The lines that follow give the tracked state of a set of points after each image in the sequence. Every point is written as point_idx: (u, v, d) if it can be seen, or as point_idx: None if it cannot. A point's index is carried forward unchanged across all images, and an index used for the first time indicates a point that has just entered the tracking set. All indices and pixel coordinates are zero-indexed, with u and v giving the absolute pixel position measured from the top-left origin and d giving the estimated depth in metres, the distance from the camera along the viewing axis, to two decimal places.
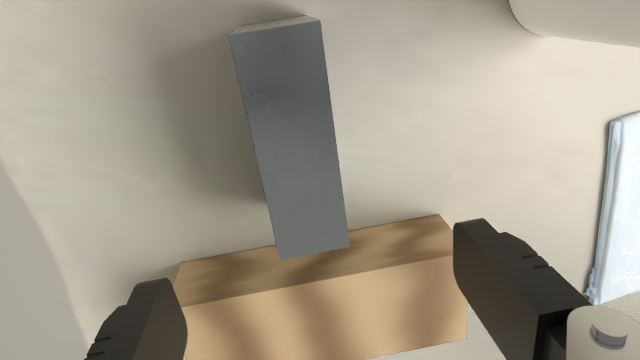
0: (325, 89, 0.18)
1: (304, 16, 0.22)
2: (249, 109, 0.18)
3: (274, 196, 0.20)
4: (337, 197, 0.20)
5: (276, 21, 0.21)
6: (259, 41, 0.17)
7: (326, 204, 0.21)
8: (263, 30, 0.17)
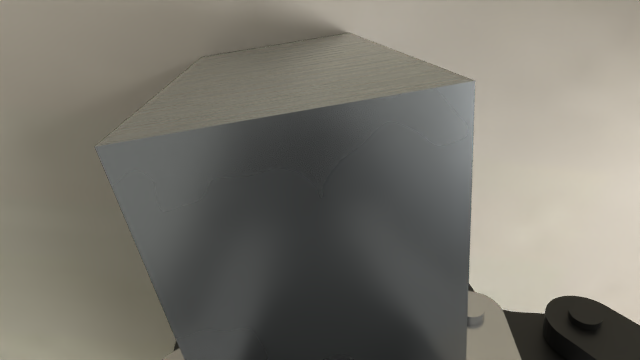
0: (456, 297, 0.05)
1: (350, 37, 0.09)
2: None
3: None
4: None
5: (285, 51, 0.09)
6: (228, 164, 0.04)
7: None
8: (243, 125, 0.04)
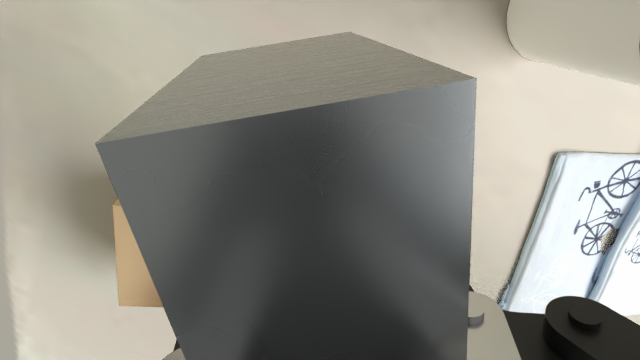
0: (457, 295, 0.05)
1: (351, 36, 0.09)
2: None
3: None
4: None
5: (286, 50, 0.09)
6: (228, 161, 0.04)
7: None
8: (245, 122, 0.04)
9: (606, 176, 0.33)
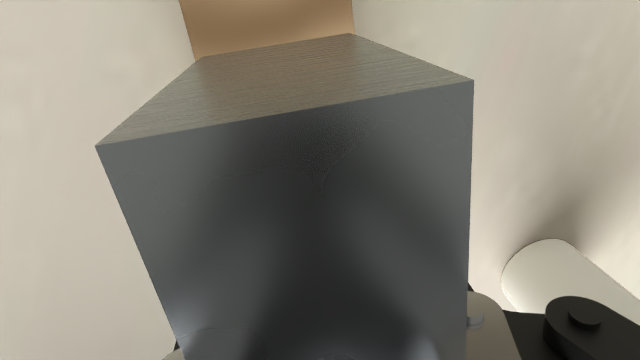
0: (455, 296, 0.05)
1: (350, 37, 0.09)
2: None
3: None
4: None
5: (285, 51, 0.09)
6: (228, 163, 0.04)
7: None
8: (243, 124, 0.04)
9: None
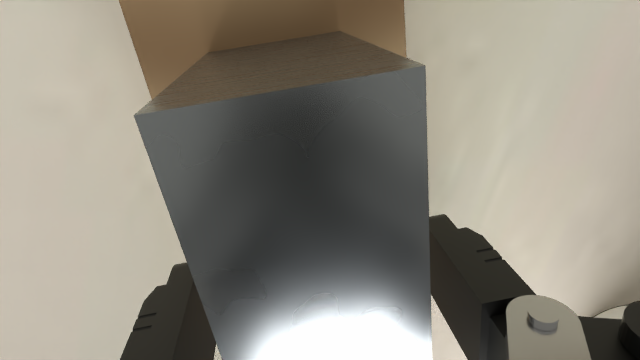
0: (419, 245, 0.07)
1: (340, 34, 0.11)
2: (212, 301, 0.07)
3: None
4: None
5: (282, 47, 0.10)
6: (234, 130, 0.05)
7: None
8: (247, 99, 0.05)
9: None
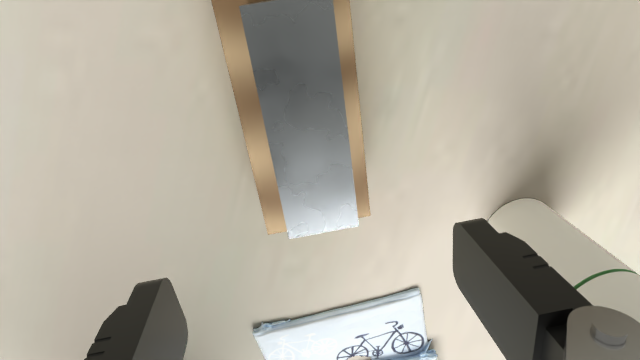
0: (336, 63, 0.18)
1: None
2: (259, 83, 0.18)
3: (284, 174, 0.20)
4: (347, 175, 0.20)
5: None
6: (270, 12, 0.17)
7: (335, 182, 0.20)
8: (274, 1, 0.16)
9: (407, 329, 0.42)
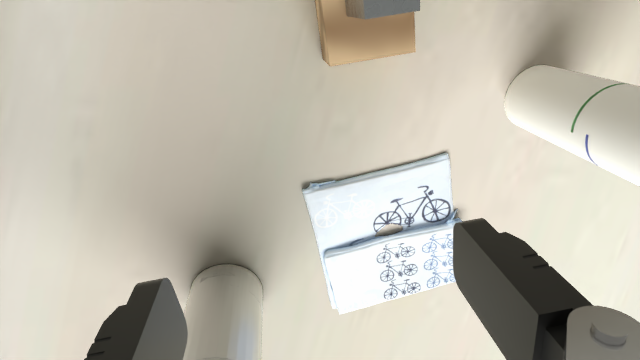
0: None
1: None
2: None
3: None
4: None
5: None
6: None
7: None
8: None
9: (436, 195, 0.48)
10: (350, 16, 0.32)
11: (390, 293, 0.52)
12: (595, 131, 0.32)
